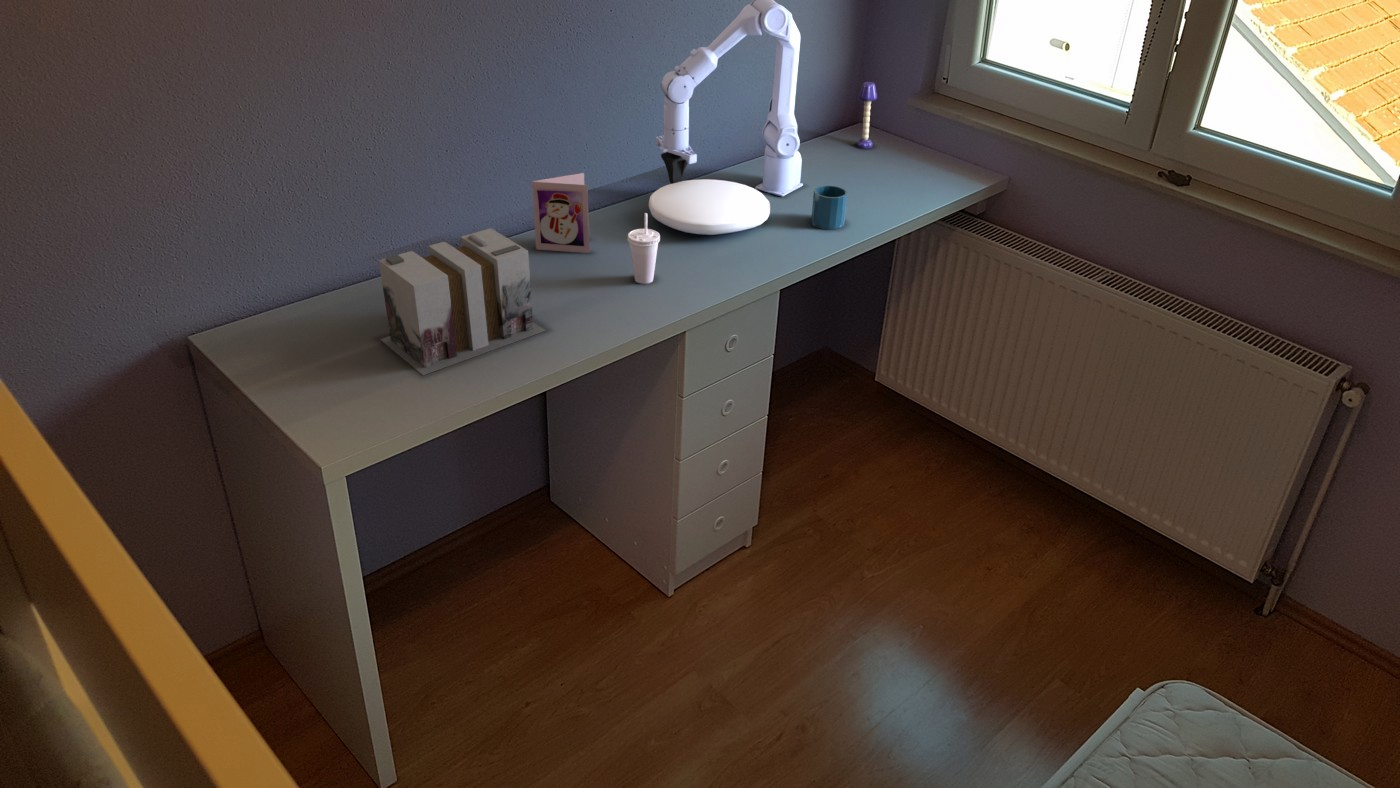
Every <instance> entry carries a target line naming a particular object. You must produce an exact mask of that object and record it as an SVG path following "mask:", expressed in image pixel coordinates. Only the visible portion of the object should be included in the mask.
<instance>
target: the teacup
mask: <svg viewBox="0 0 1400 788" xmlns="http://www.w3.org/2000/svg"><path fill="white" fill-rule="evenodd" d="M847 199H848V190H846V189H845V188H844V187H842V186H837V185H831V184H830V185H825V184H824V185H820V186H817V187H815V188H814V190H813V195H812V210H811V219H810V220H811V221H810V222H811V225H812V226H814V227H816V228H818V229H821V230H826V231H827V230H828V231H833V230H839V229H841V228H843V227H844V225H845V221H846V213H847V212H846V211H847V201H848V200H847Z"/></svg>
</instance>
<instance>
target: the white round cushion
mask: <svg viewBox="0 0 1400 788" xmlns="http://www.w3.org/2000/svg"><path fill="white" fill-rule="evenodd" d="M648 209H649V212H650V215H651V216H652V217H653V218H654V219H655V220H656V221H657V222H659V223H661V224H663V225H665V226H667V227H669V228H671V229H674V230H677V231H681V232H684V233H690V234H695V235H707V236H714V235H724V234H730V233H737V232H742V231H746V230H749V229H753V228H756V227H758V226H761V225H762V224H763V223H764V222H765V221H767V220H768V218H769V217H770V216H771V203H770V200H768V198H767V197H766V196H765V195H764V194H763V193H762V192H761V191H760V190H758V189H755V187H754V188H753V187H751V186H748V185H746V184H744V183H739V182H735V181H731V180H730V181H729V180H721V179H710V178H709V179H706V178H705V179H704V178H703V179H689V180H688V179H687V180H682V181H681V182H677V183H673V184H671V183H669V184H667V185H663V186H661V187H659V188H658V189H657V190H655V191H654V192H652V193H651V195H650V196H649V200H648Z"/></svg>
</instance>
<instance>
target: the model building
mask: <svg viewBox="0 0 1400 788" xmlns="http://www.w3.org/2000/svg"><path fill="white" fill-rule="evenodd" d="M428 252H429V255H428V256H423V257H422V256H421V255H419V254H418V253H416V252H415V251H413V250H409V251H407V252H402V253H399V254H396V255H391V256H388V257H385V258H382V259H379V260H378V264H379V265H378V267H379V271H380V278H381V285H382V292H383V298H384V304H385V310H386V318H387V324H388V330H389V336H386V337H383V338H380V339H379V340H380V341H382V342H383V344H385V345H386V346H387V347H389V349H391V350H392V351H393V352H394V353H396V354H397V355H398V356H399V357H401V358H402V359H403V360H404V361H405V362H406V363H407V364H409V365H410V366H411V367H412V368H414V369H415V370H416V371H417V372H418V373H419V374H420V375H422V376H425V375H428V374H431V373H434V372H436V371H439V370H442V369H445V368H447V367H451V366H452V365H456V364H458V363H461V362H464V361H466V360H470V359H472V358H475V357H478V356H481V355H483V354H486V353H489V352H491V351H494V350H497V349H500V348H502V347H505V346H508V345H511V344H513V343H516V342H519V341H522V340H524V339H527V338H531V337H533V336H535V335H538V334H542V333H544V332H546V331H547V330H546V329H544V328H543V327H542V326H540V325H539V324H537V323H536V322H535V321H534V317H533V316H534V315H533V302H532V301H533V300H532V288H531V287H532V286H531V273H530V260H529V250H528V249H526V248H524V247H523V246H521V245H519V244H518V243H517V242H514V241H513V240H511V239H510V238H508V237H507V236H505V235H503V234H502V233H499V232H498V231H496V230H495V229H493V228H492V227H490V228H486V229H483V230H480V231H476V232H473V233H470V234H466V235H462V236H460V246H457V247H454V246H452V245H450V244H449V243H448V242H446V241H441V242H438V243H434V244H431V245H428Z"/></svg>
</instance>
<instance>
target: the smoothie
mask: <svg viewBox="0 0 1400 788" xmlns="http://www.w3.org/2000/svg"><path fill="white" fill-rule="evenodd" d="M643 214H644V215H643V216H644V228H636V229H633V230H631V231H629V232H628V233H627V242H628V243H629V249H630V255H631V262H632V270H633V276H634V281H635V282H636V283H637V284H642V285H643V284H650V283H652V282H653V281H654V277H655V270H656V261H657V256H658V248H659V243H660V241H661V235H660V233H659V232H658V231H656V230H654V229H651V228H648V213H647V212H644V213H643Z"/></svg>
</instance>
